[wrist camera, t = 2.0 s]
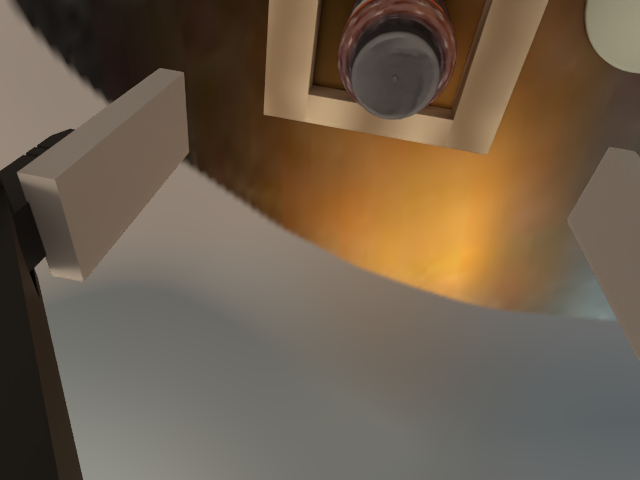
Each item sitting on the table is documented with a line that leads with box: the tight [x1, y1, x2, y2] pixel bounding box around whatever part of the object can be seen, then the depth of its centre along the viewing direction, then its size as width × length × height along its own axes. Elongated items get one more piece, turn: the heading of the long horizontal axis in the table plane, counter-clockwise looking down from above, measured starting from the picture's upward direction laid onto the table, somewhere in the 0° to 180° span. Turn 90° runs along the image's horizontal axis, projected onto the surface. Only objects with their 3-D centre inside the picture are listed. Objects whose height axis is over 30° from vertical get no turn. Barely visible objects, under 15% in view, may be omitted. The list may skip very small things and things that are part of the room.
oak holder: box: [264, 0, 549, 155], centre depth 28 cm, size 16×14×2 cm
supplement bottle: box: [337, 0, 457, 120], centre depth 24 cm, size 6×6×11 cm
